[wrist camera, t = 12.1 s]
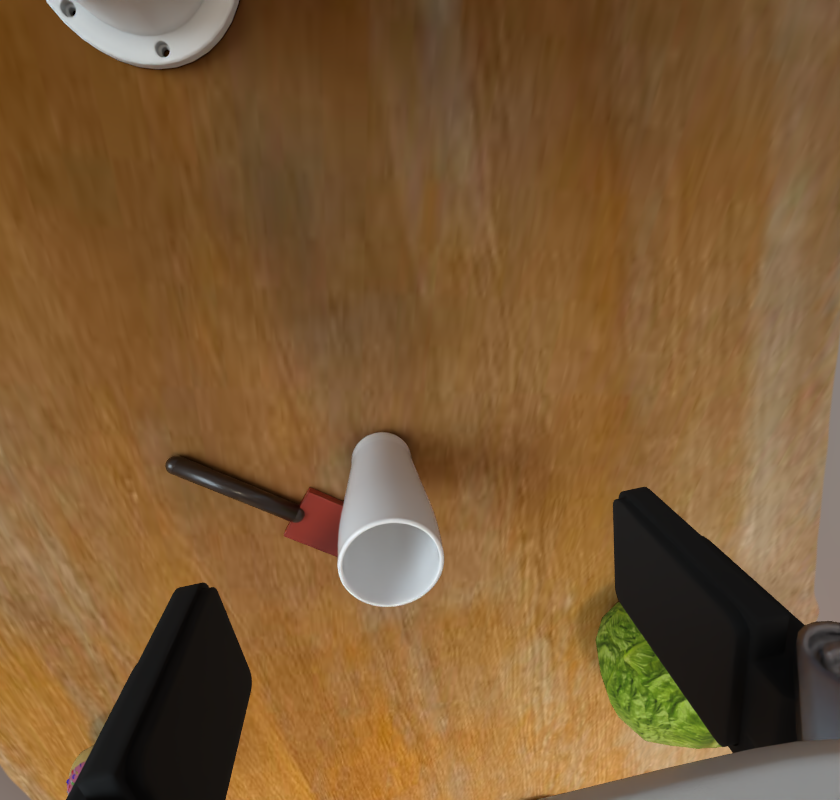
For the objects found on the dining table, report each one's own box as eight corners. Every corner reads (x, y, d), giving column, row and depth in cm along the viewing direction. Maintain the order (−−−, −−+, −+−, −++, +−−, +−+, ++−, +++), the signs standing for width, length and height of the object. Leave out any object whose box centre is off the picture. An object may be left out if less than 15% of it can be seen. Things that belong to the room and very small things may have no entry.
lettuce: (609, 790, 55) (761, 835, 48) (587, 691, 43) (785, 734, 36) (613, 667, 65) (739, 691, 59) (596, 561, 53) (752, 576, 47)
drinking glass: (425, 428, 43) (457, 525, 29) (409, 493, 45) (432, 613, 31) (350, 416, 42) (345, 512, 28) (338, 484, 44) (328, 604, 30)
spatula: (159, 480, 42) (151, 490, 40) (181, 432, 40) (174, 440, 39) (364, 561, 47) (364, 572, 45) (389, 521, 46) (390, 530, 44)
